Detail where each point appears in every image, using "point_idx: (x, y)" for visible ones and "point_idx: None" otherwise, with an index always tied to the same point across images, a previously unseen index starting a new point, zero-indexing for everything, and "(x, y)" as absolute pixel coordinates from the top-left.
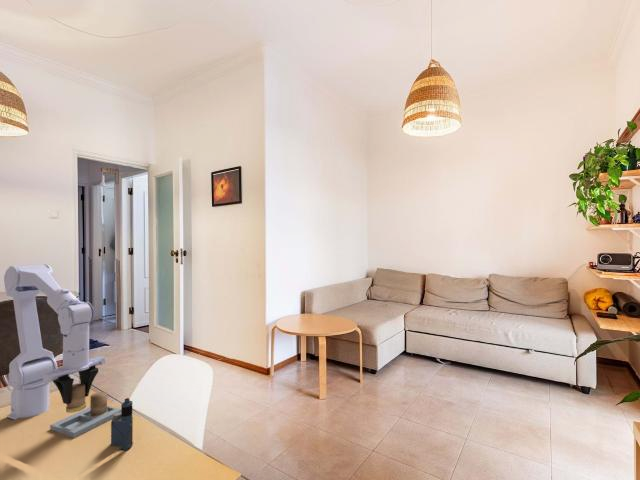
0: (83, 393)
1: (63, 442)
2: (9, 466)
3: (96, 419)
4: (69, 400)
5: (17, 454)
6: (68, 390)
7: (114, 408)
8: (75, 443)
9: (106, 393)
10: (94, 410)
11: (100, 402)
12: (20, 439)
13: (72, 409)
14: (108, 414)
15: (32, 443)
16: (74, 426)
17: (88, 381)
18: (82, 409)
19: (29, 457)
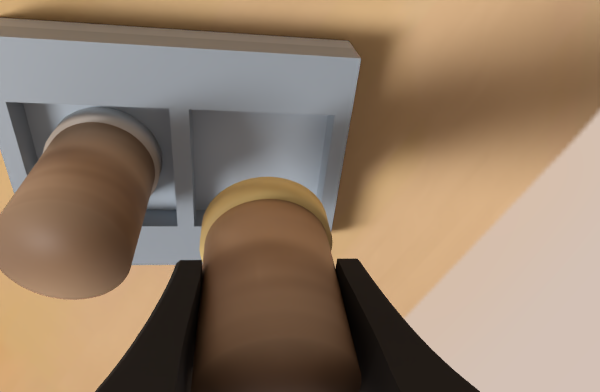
0: (248, 275)
1: (367, 94)
2: (569, 130)
3: (177, 83)
4: (359, 274)
5: (484, 191)
6: (415, 354)
7: (1, 109)
8: (360, 13)
9: (1, 222)
10: (141, 170)
11: (93, 176)
12: (387, 285)
13: (322, 212)
14: (83, 67)
15: (403, 219)
16: (259, 169)
17: (177, 381)
18: (257, 177)
19: (503, 120)
